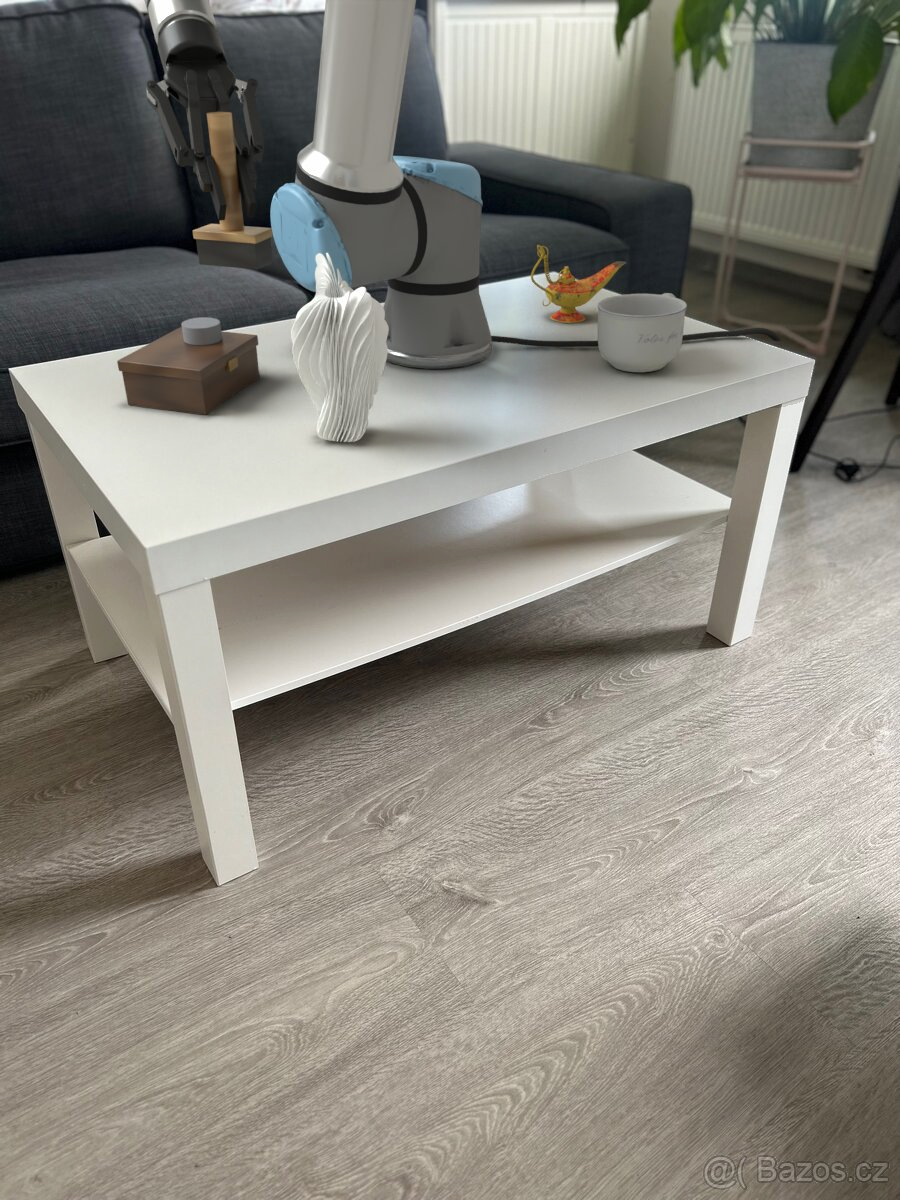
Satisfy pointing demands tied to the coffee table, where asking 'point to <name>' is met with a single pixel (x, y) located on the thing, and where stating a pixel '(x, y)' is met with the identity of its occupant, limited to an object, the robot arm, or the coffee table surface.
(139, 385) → the walnut box
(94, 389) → the coffee table surface
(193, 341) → the felt pad
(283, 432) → the coffee table surface
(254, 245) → the brush
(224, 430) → the coffee table surface
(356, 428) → the shell sculpture
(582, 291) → the magic lamp
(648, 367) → the teacup
